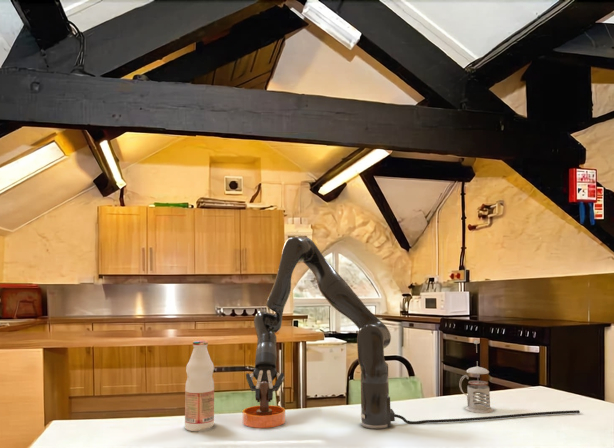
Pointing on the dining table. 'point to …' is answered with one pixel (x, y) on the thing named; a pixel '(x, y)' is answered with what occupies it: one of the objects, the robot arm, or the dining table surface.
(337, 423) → the dining table surface
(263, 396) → the pestle
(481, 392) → the french press
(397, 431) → the dining table surface
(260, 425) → the bowl
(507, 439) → the dining table surface
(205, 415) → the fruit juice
